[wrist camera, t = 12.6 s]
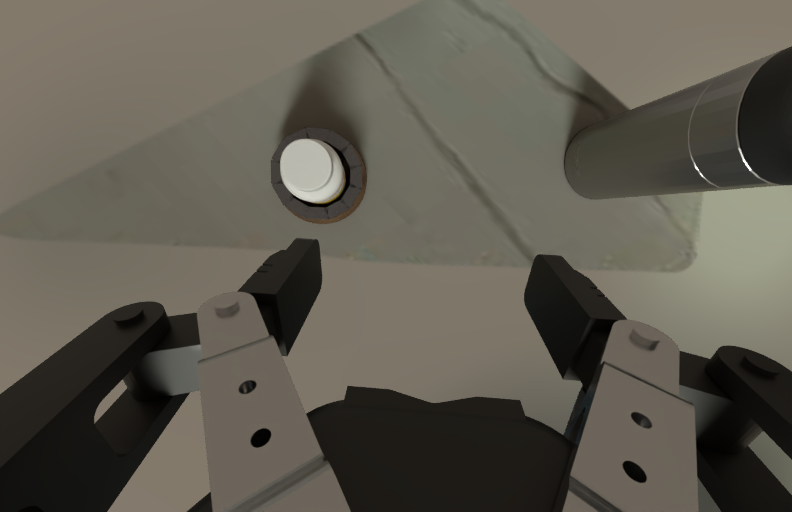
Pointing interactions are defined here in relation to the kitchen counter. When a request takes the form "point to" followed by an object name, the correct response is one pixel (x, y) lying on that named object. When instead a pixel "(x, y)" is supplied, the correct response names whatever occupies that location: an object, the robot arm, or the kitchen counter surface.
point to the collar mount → (352, 171)
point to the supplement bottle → (312, 171)
